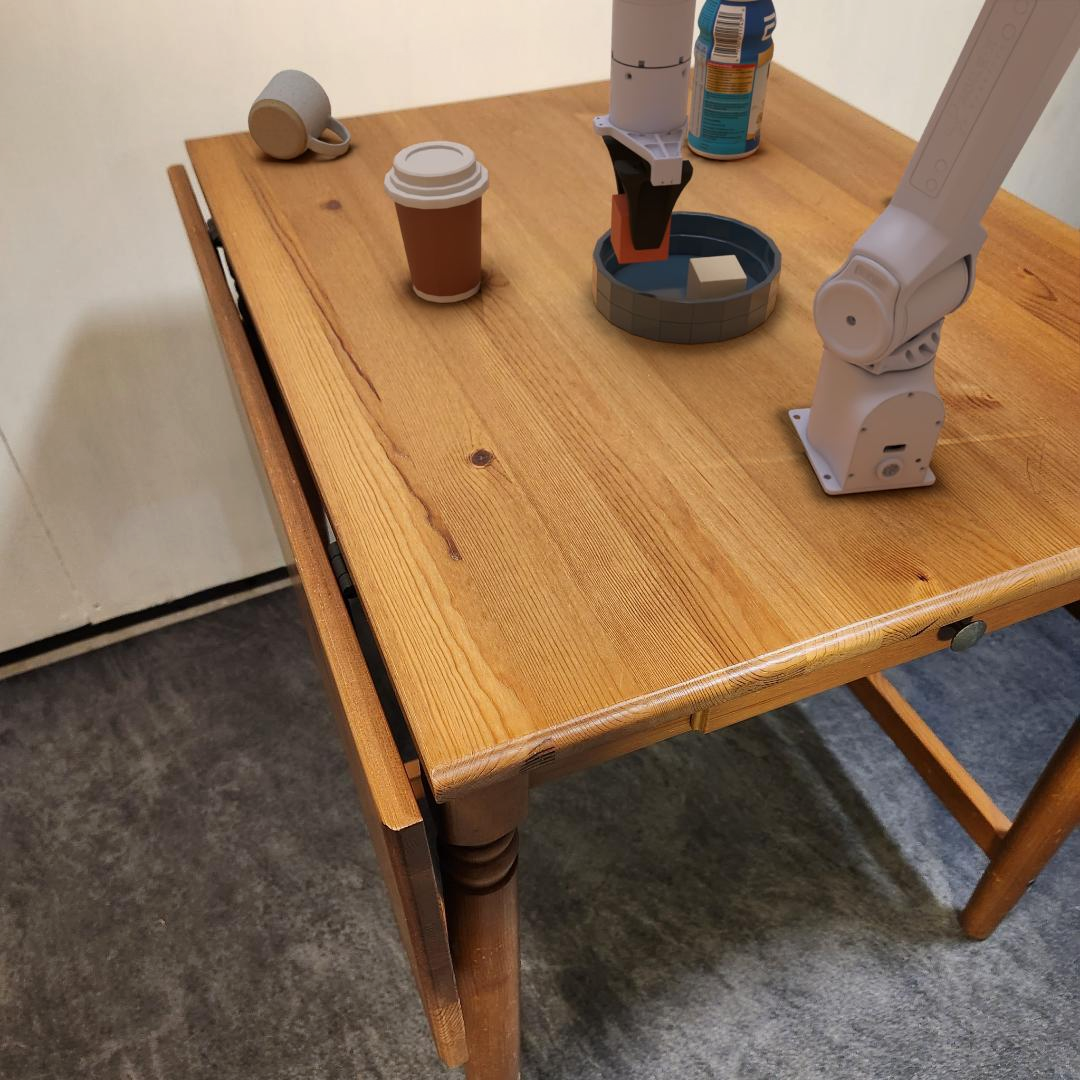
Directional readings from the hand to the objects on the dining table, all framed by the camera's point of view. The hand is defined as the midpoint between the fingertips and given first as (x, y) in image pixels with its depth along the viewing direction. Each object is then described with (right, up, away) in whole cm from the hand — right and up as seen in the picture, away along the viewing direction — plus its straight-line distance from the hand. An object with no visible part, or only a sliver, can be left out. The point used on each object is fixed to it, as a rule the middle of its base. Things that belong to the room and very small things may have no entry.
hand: (640, 233), depth 77 cm
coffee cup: (-17, -1, +12) cm, 21 cm away
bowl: (+5, -3, +9) cm, 10 cm away
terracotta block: (0, -1, +1) cm, 1 cm away
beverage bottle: (+13, +20, +32) cm, 40 cm away
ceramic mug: (-36, +21, +35) cm, 54 cm away
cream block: (+7, -5, +6) cm, 11 cm away
